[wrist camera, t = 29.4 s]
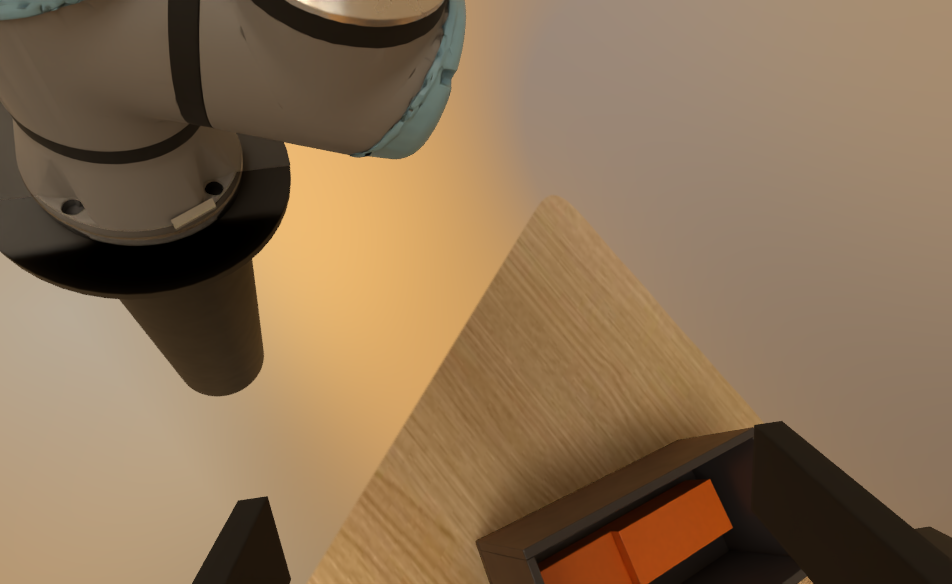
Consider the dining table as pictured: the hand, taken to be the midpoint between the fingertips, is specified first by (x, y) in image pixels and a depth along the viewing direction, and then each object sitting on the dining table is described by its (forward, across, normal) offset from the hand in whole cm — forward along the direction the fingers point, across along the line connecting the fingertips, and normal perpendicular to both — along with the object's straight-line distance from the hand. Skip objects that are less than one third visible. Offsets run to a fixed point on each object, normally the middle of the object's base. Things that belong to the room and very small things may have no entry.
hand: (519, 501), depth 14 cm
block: (+20, +8, -23) cm, 31 cm away
